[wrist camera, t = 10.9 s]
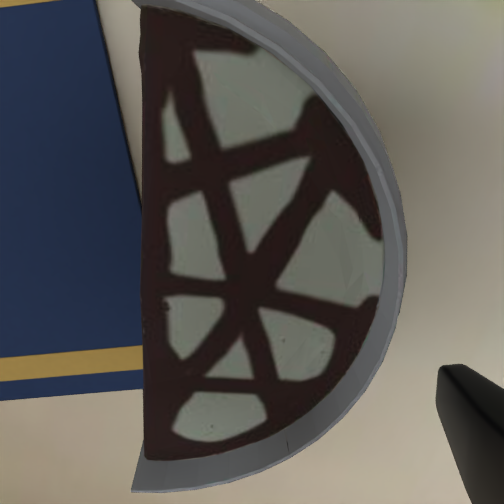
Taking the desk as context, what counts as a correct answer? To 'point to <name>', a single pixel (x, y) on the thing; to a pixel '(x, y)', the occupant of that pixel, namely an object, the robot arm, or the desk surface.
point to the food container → (255, 243)
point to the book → (65, 209)
